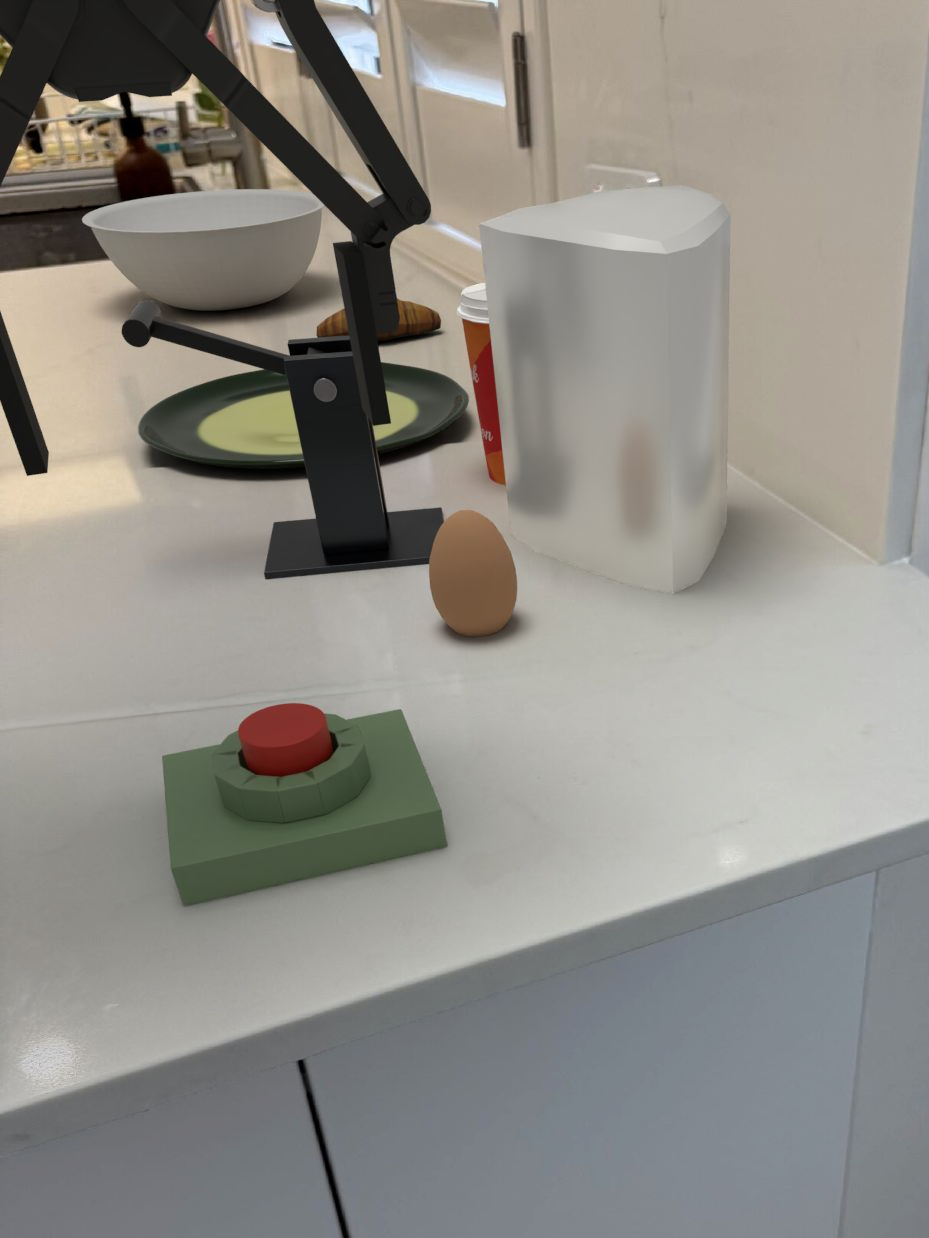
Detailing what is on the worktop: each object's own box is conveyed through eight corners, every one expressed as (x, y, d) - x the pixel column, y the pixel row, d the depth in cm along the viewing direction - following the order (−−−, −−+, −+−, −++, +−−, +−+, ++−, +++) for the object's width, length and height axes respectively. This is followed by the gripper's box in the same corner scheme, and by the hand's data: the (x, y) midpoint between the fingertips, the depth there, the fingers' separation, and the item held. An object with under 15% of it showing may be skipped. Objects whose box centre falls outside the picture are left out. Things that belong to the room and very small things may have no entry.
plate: (213, 387, 117) (206, 360, 116) (496, 385, 116) (493, 358, 114) (89, 491, 96) (79, 460, 94) (436, 491, 94) (432, 459, 92)
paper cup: (510, 461, 99) (491, 274, 90) (592, 473, 96) (581, 282, 87) (457, 493, 93) (431, 297, 85) (542, 507, 91) (525, 306, 82)
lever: (119, 349, 72) (123, 308, 70) (133, 329, 76) (136, 289, 74) (344, 413, 76) (352, 375, 75) (346, 390, 80) (353, 354, 79)
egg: (503, 611, 77) (489, 488, 72) (536, 643, 73) (523, 516, 68) (426, 630, 75) (406, 505, 70) (456, 664, 71) (437, 535, 66)
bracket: (268, 591, 80) (215, 373, 72) (277, 539, 87) (230, 335, 79) (449, 573, 82) (419, 359, 73) (444, 523, 89) (416, 322, 80)
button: (250, 787, 55) (241, 754, 54) (242, 744, 58) (233, 712, 57) (338, 768, 56) (331, 736, 55) (326, 727, 59) (319, 696, 58)
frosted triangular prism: (503, 550, 84) (464, 193, 71) (640, 492, 93) (629, 162, 79) (664, 610, 76) (655, 220, 63) (798, 541, 85) (816, 182, 71)
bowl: (95, 340, 133) (65, 239, 127) (122, 286, 154) (97, 197, 148) (346, 320, 137) (329, 221, 131) (339, 270, 158) (324, 183, 152)
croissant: (435, 324, 135) (428, 275, 132) (449, 338, 130) (443, 288, 127) (313, 339, 131) (303, 289, 128) (323, 354, 126) (314, 302, 123)
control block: (183, 907, 54) (158, 835, 51) (173, 791, 61) (151, 723, 59) (447, 847, 57) (435, 776, 54) (407, 744, 64) (395, 677, 62)
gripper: (-494, -289, 31) (-132, 519, 44) (458, -278, 37) (527, 421, 50) (-406, -250, 36) (-107, 456, 49) (409, -246, 43) (483, 376, 56)
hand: (213, 440), depth 50 cm, fingers open, 13 cm apart
